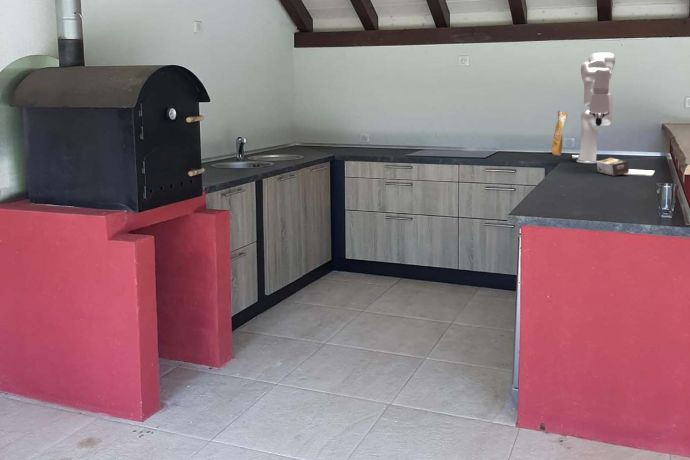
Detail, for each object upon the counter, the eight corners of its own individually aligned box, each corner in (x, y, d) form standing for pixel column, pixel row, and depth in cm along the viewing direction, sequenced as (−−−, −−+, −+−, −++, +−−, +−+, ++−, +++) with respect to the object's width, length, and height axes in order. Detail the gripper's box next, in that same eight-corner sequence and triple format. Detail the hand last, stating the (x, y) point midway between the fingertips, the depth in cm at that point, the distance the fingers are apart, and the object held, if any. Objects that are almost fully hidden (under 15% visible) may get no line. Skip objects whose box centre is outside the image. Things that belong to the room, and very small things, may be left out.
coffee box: (611, 157, 401) (628, 160, 385) (612, 168, 402) (629, 172, 387) (596, 161, 399) (612, 164, 384) (597, 172, 401) (614, 176, 385)
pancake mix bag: (560, 152, 493) (562, 110, 487) (565, 155, 474) (568, 112, 468) (549, 152, 493) (552, 110, 487) (554, 155, 475) (557, 112, 469)
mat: (612, 173, 395) (613, 172, 395) (616, 170, 409) (617, 168, 409) (651, 176, 386) (651, 174, 386) (654, 172, 400) (654, 170, 400)
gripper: (585, 91, 397) (583, 125, 402) (614, 92, 391) (611, 127, 395) (588, 91, 404) (585, 124, 408) (616, 91, 397) (613, 125, 402)
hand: (598, 125), depth 402 cm, fingers closed
